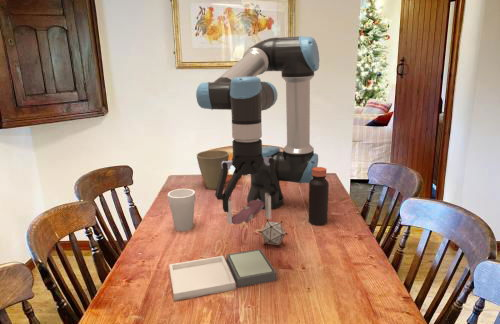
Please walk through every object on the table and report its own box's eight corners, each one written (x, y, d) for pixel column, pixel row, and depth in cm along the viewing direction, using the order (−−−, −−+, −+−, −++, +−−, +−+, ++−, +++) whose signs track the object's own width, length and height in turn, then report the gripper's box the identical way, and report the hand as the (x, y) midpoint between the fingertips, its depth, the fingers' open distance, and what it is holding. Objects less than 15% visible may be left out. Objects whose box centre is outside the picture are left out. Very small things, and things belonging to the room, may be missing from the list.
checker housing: (260, 256, 113) (260, 248, 113) (276, 280, 101) (276, 272, 100) (226, 262, 110) (226, 254, 110) (238, 287, 98) (237, 279, 97)
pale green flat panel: (259, 253, 112) (259, 250, 112) (272, 274, 101) (272, 271, 100) (229, 258, 109) (229, 255, 109) (240, 280, 98) (240, 277, 98)
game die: (278, 252, 123) (296, 228, 122) (271, 255, 115) (290, 230, 114) (257, 235, 125) (274, 211, 124) (249, 237, 118) (268, 212, 117)
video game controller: (241, 232, 98) (252, 213, 95) (228, 222, 100) (238, 202, 96) (260, 219, 106) (270, 200, 103) (247, 209, 108) (257, 191, 104)
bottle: (308, 217, 140) (310, 165, 135) (327, 218, 139) (329, 166, 134) (307, 225, 134) (308, 171, 129) (327, 226, 132) (329, 171, 127)
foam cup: (191, 234, 129) (189, 198, 125) (166, 232, 131) (163, 197, 127) (200, 222, 138) (198, 189, 134) (176, 221, 140) (174, 188, 136)
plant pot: (198, 182, 184) (196, 150, 180) (229, 181, 185) (228, 149, 181) (198, 192, 169) (196, 158, 165) (231, 191, 171) (229, 157, 167)
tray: (223, 261, 111) (223, 255, 110) (235, 289, 97) (235, 282, 97) (169, 270, 107) (169, 264, 106) (174, 300, 93) (173, 293, 92)
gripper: (283, 133, 102) (283, 209, 108) (200, 139, 96) (205, 219, 102) (294, 138, 95) (293, 219, 101) (205, 145, 89) (210, 231, 95)
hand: (249, 219), depth 102 cm, fingers closed on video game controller, 10 cm apart
